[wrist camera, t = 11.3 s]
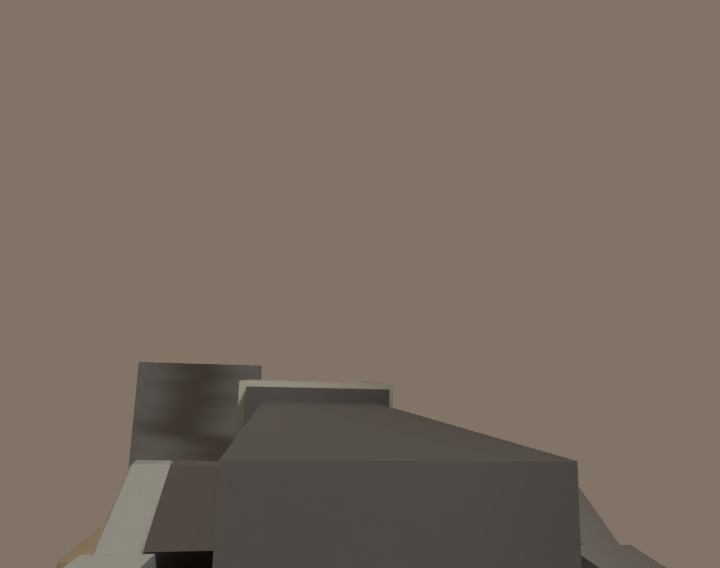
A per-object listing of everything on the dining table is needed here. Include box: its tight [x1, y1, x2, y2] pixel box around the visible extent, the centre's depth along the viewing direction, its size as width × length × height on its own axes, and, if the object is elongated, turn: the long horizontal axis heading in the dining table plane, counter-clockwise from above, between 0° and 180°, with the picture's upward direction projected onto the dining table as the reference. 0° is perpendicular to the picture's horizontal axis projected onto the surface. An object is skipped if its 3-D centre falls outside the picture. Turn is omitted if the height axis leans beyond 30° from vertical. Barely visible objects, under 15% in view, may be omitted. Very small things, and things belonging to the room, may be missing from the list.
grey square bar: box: [212, 380, 582, 568], centre depth 13 cm, size 4×17×4 cm, turn 8°
